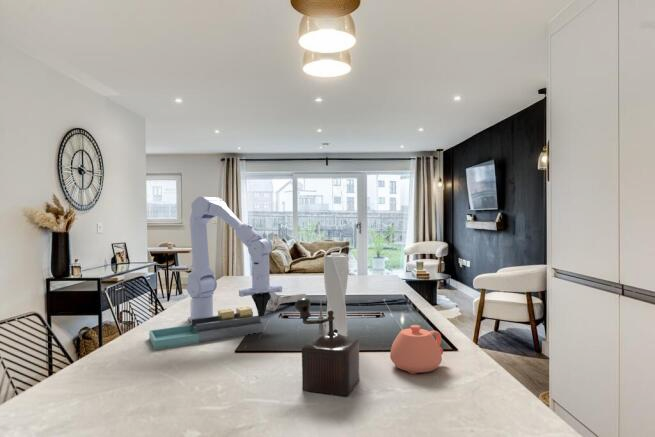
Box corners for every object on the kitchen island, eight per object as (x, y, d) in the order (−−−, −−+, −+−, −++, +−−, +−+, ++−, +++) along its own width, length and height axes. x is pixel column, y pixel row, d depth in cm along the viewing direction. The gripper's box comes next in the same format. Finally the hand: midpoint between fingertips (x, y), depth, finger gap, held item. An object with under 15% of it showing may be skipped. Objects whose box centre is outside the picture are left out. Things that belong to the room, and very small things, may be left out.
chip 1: (218, 322, 134) (218, 310, 134) (230, 321, 136) (230, 308, 136) (221, 325, 130) (221, 312, 130) (234, 323, 132) (234, 311, 132)
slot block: (189, 332, 133) (189, 317, 133) (250, 323, 143) (249, 309, 143) (198, 342, 123) (198, 326, 123) (262, 332, 133) (262, 317, 133)
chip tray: (149, 338, 127) (149, 330, 127) (189, 332, 133) (189, 324, 133) (154, 349, 117) (154, 340, 117) (198, 342, 123) (198, 334, 123)
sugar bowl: (381, 362, 105) (381, 322, 105) (428, 355, 110) (428, 316, 110) (407, 380, 94) (407, 335, 94) (458, 371, 99) (458, 328, 99)
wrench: (305, 306, 182) (265, 313, 156) (302, 306, 183) (261, 312, 157) (306, 287, 183) (266, 291, 157) (303, 287, 184) (262, 291, 158)
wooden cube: (236, 320, 137) (236, 308, 137) (248, 318, 139) (248, 306, 139) (240, 322, 133) (240, 310, 133) (252, 321, 135) (252, 308, 135)
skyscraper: (327, 337, 128) (326, 246, 128) (352, 339, 126) (351, 246, 125) (317, 345, 120) (316, 248, 120) (344, 348, 118) (343, 249, 117)
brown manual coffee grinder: (361, 377, 96) (361, 299, 96) (347, 398, 85) (346, 310, 85) (299, 369, 101) (298, 295, 101) (279, 388, 91) (278, 305, 90)
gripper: (243, 278, 132) (244, 321, 132) (285, 274, 139) (286, 315, 139) (236, 275, 138) (237, 316, 138) (277, 272, 145) (277, 311, 145)
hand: (261, 315), depth 139 cm, fingers closed
